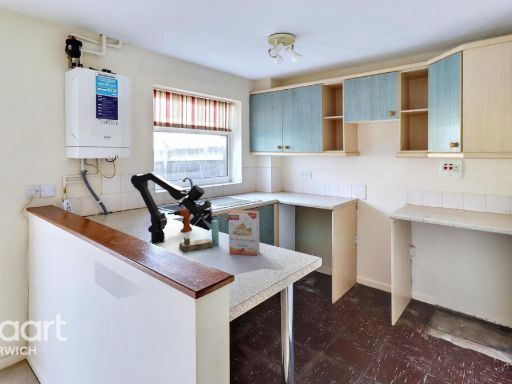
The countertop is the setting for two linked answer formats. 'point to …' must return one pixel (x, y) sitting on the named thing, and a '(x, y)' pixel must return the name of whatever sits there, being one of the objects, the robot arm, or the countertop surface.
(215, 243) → the teal cylinder
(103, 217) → the countertop surface
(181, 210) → the toy drill
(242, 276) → the countertop surface
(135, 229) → the countertop surface
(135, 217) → the countertop surface
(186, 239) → the lid
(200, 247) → the wooden frame piece
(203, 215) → the robot arm
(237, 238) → the cracker box
